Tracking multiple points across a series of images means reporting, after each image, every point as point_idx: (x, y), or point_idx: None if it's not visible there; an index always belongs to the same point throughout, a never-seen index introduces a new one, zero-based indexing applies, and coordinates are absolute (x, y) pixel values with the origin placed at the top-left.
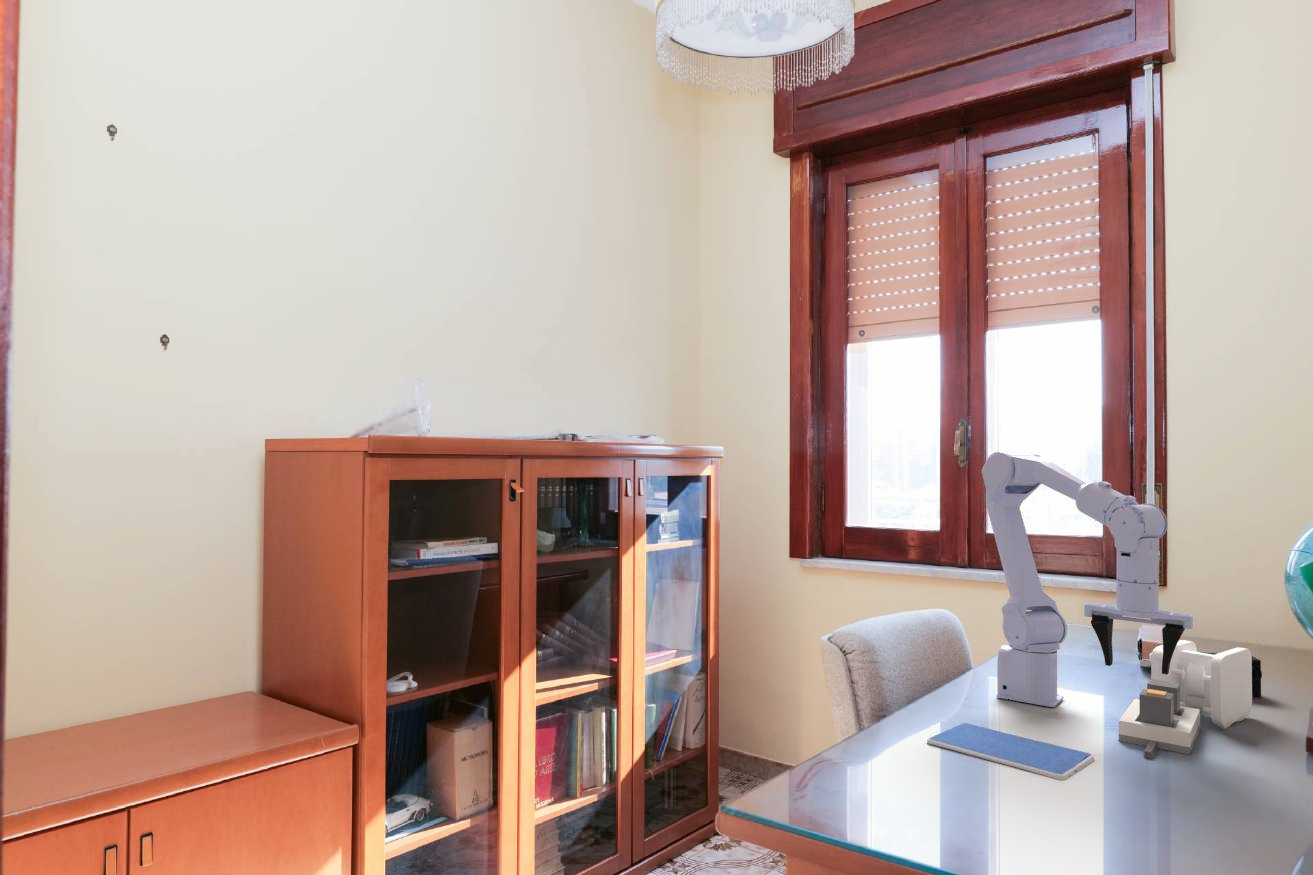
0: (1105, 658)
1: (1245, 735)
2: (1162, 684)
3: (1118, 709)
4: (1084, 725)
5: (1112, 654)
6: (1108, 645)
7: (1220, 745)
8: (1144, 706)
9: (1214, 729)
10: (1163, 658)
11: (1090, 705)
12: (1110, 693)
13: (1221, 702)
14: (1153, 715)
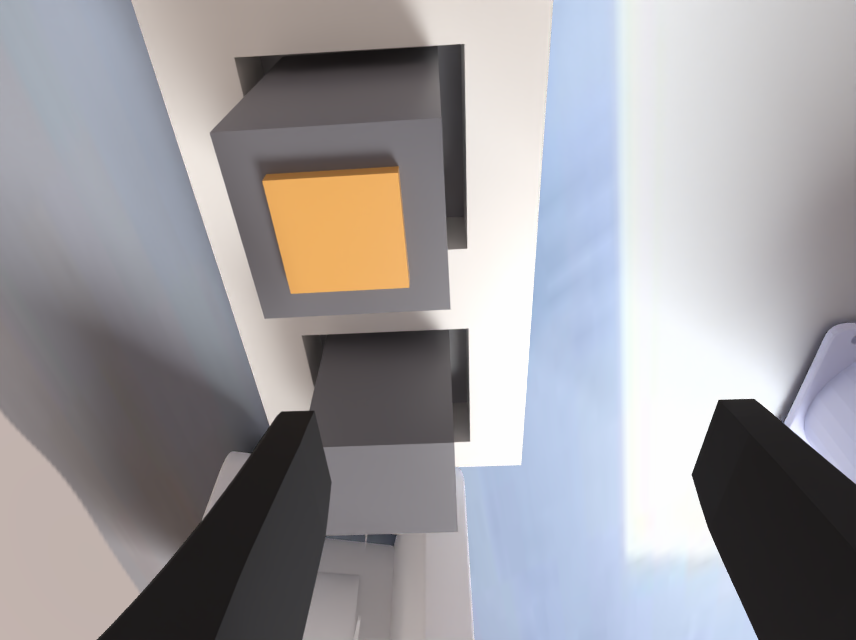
0: (794, 436)
1: (170, 429)
2: (384, 475)
3: (572, 456)
4: (708, 143)
5: (721, 547)
6: (852, 564)
7: (165, 255)
8: (406, 90)
9: (263, 432)
10: (258, 513)
11: (668, 445)
12: (605, 581)
13: (204, 516)
14: (354, 82)
